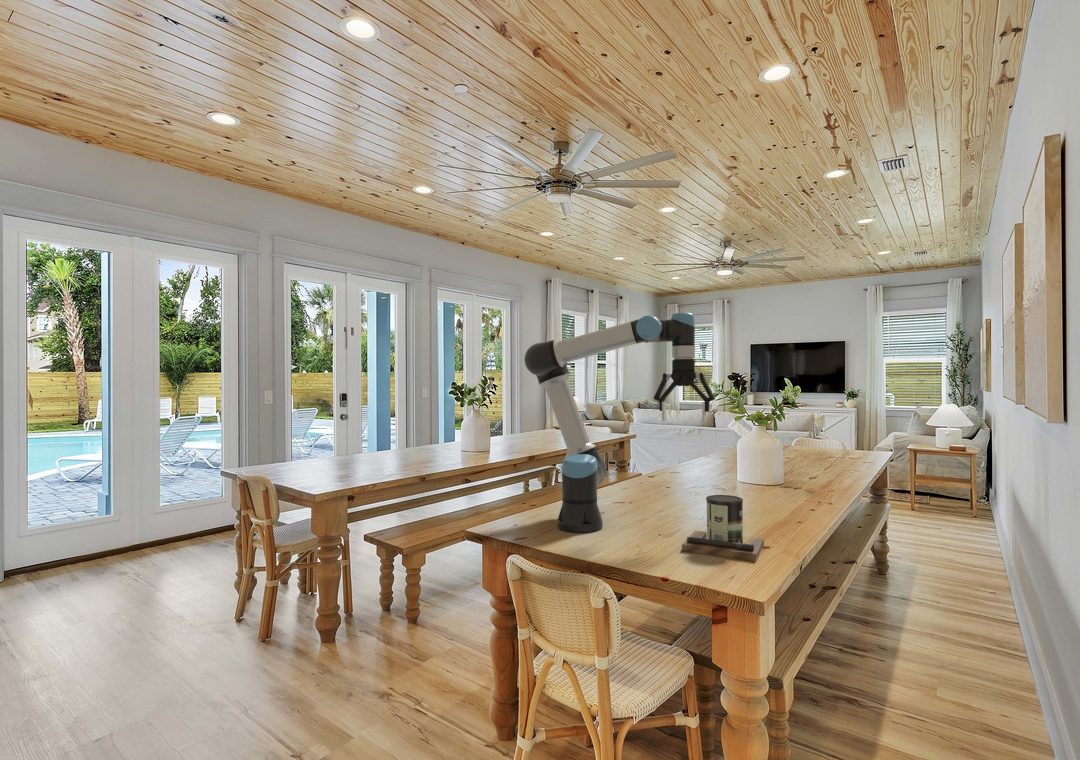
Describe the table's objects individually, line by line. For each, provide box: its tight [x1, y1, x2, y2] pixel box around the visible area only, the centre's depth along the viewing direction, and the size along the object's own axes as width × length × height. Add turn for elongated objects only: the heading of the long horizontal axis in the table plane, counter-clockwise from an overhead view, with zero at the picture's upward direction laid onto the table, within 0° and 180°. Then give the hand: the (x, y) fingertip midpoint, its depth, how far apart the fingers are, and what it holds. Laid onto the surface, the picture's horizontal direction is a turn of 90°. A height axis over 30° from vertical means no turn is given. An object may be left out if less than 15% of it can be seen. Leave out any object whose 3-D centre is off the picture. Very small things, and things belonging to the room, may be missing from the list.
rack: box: [681, 530, 765, 562], centre depth 164 cm, size 20×16×4 cm
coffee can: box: [705, 494, 744, 544], centre depth 166 cm, size 10×10×14 cm
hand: (683, 421), depth 192 cm, fingers open, 13 cm apart
